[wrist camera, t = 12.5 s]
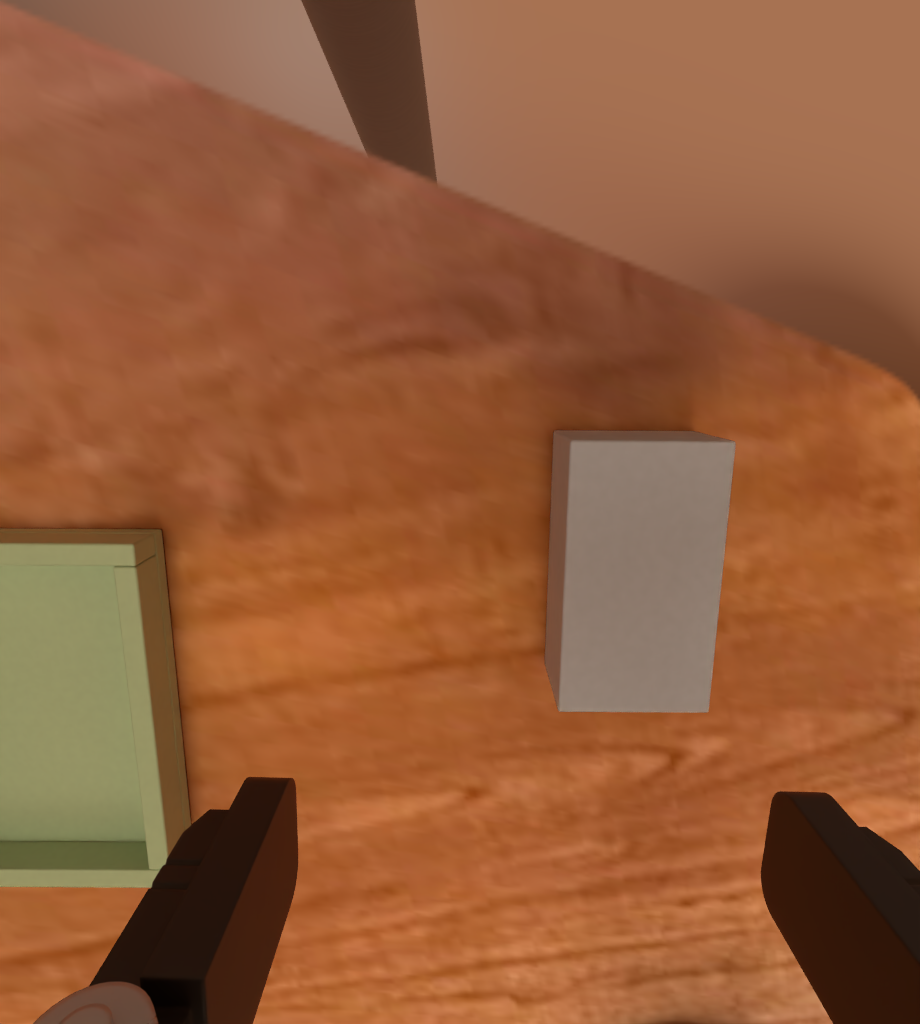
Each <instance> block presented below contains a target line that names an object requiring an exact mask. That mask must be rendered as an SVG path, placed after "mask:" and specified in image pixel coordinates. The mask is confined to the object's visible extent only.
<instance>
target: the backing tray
mask: <svg viewBox="0 0 920 1024" xmlns="http://www.w3.org/2000/svg"><path fill="white" fill-rule="evenodd" d="M190 826H191V818H190V808H189V798H188V788H187V778H186V768H185V758H184V748H183V738H182V728H181V718H180V708H179V698H178V688H177V678H176V668H175V658H174V648H173V638H172V628H171V618H170V608H169V598H168V588H167V578H166V568H165V558H164V548H163V538H162V530H160V529H30V528H0V887H128V888H151V887H152V882H153V881H154V879H155V877H156V876H157V874H158V873H159V871H160V869H161V868H162V866H163V865H165V864H166V859H167V858H168V856H169V854H170V853H171V851H172V849H173V848H174V846H175V845H176V843H177V841H178V840H179V838H180V836H181V835H182V833H183V832H184V831H185V830H186V829H187V828H189V827H190Z"/></svg>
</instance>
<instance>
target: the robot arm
mask: <svg viewBox="0 0 920 1024" xmlns="http://www.w3.org/2000/svg"><path fill="white" fill-rule="evenodd" d="M297 870H298V835H297V806H296V786H295V781H294V779H293V778H268V777H248V778H247V779H246V780H245V781H244V783H243V784H242V786H241V788H240V790H239V792H238V794H237V796H236V798H235V799H234V801H233V803H232V805H231V807H230V809H229V810H211V809H210V810H209V811H207V812H206V813H205V814H204V815H203V816H202V817H200V818H199V819H198V820H197V821H196V822H194V823H193V824H192V825H191V826H190V827H189V828H187V829H186V830H185V831H184V832H183V833H182V835H181V836H180V838H179V840H178V841H177V843H176V845H175V846H174V848H173V849H172V851H171V853H170V854H169V856H168V858H167V859H166V864H165V865H163V866H162V868H161V869H160V871H159V873H158V874H157V876H156V877H155V879H154V881H153V882H152V887H151V889H148V891H147V892H146V894H145V896H144V897H143V899H142V900H141V902H140V904H139V905H138V907H137V909H136V910H135V912H134V914H133V915H132V917H131V919H130V920H129V922H128V924H127V925H126V927H125V928H124V930H123V932H122V933H121V935H120V937H119V938H118V940H117V942H116V943H115V945H114V947H113V948H112V950H111V952H110V953H109V955H108V956H107V958H106V960H105V961H104V963H103V965H102V966H101V968H100V970H99V971H98V973H97V975H96V976H95V978H94V980H93V981H92V983H91V984H90V986H89V987H86V988H84V989H82V990H79V991H77V992H75V993H73V994H71V995H69V996H67V997H66V998H64V999H62V1000H61V1001H59V1002H58V1003H56V1004H55V1005H54V1006H52V1007H51V1008H50V1009H48V1010H47V1011H46V1012H45V1013H44V1014H42V1015H41V1016H40V1017H39V1018H38V1019H37V1020H36V1021H35V1022H34V1023H33V1024H253V1021H254V1018H255V1015H256V1012H257V1009H258V1005H259V1002H260V999H261V996H262V993H263V990H264V987H265V984H266V980H267V977H268V974H269V971H270V968H271V965H272V962H273V959H274V956H275V952H276V949H277V946H278V943H279V940H280V937H281V934H282V931H283V927H284V924H285V921H286V918H287V915H288V912H289V909H290V906H291V902H292V899H293V895H294V890H295V885H296V879H297ZM761 883H762V889H763V894H764V898H765V901H766V904H767V907H768V910H769V912H770V914H771V916H772V918H773V919H774V921H775V923H776V925H777V926H778V928H779V930H780V932H781V933H782V935H783V937H784V939H785V940H786V942H787V944H788V945H789V947H790V949H791V951H792V952H793V954H794V956H795V958H796V959H797V961H798V963H799V965H800V966H801V968H802V970H803V972H804V973H805V975H806V977H807V979H808V980H809V982H810V984H811V986H812V987H813V989H814V991H815V993H816V994H817V996H818V998H819V1000H820V1001H821V1003H822V1005H823V1006H824V1008H825V1010H826V1012H827V1013H828V1015H829V1017H830V1019H831V1020H832V1022H833V1024H920V871H919V870H918V869H917V868H916V867H915V866H914V865H913V863H912V862H911V861H910V860H909V859H908V858H907V857H906V856H905V855H904V854H903V853H902V852H901V851H900V850H899V849H897V848H896V847H894V846H893V845H891V844H890V843H889V842H887V841H886V840H884V839H883V838H881V837H880V836H878V835H877V834H876V833H874V832H873V831H871V830H870V829H868V828H867V827H858V826H857V824H856V823H855V822H854V821H853V820H852V819H851V818H850V816H849V815H848V814H847V813H846V812H845V811H844V810H843V809H842V807H841V806H840V805H839V804H838V803H837V802H836V801H835V799H834V798H833V797H832V796H830V795H829V794H827V793H820V792H777V793H776V794H775V795H774V797H773V799H772V803H771V808H770V815H769V821H768V828H767V835H766V841H765V848H764V854H763V861H762V867H761Z"/></svg>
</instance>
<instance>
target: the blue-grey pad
mask: <svg viewBox="0 0 920 1024" xmlns="http://www.w3.org/2000/svg"><path fill="white" fill-rule="evenodd" d="M735 445H736V443H735V442H734V441H731V440H727V439H723V438H719V437H715V436H711V435H707V434H703V433H699V432H695V431H604V430H555V431H554V434H553V460H552V486H551V512H550V538H549V564H548V590H547V616H546V642H545V666H546V670H547V673H548V677H549V680H550V684H551V687H552V691H553V694H554V697H555V701H556V704H557V708H558V711H560V712H708V711H709V701H710V691H711V681H712V671H713V662H714V652H715V642H716V632H717V622H718V612H719V603H720V593H721V583H722V573H723V563H724V553H725V544H726V534H727V524H728V514H729V504H730V494H731V485H732V475H733V465H734V455H735Z"/></svg>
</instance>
